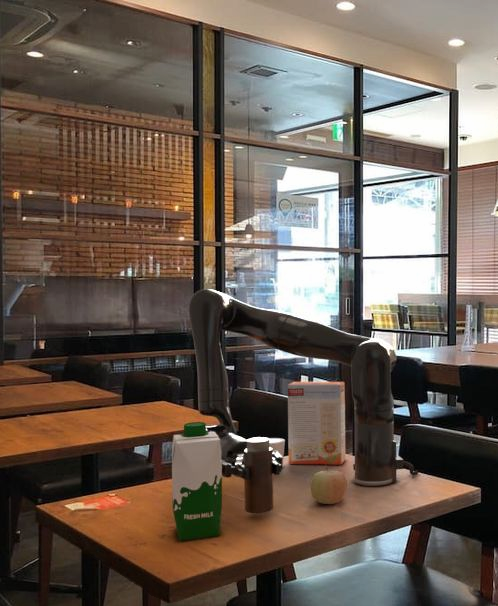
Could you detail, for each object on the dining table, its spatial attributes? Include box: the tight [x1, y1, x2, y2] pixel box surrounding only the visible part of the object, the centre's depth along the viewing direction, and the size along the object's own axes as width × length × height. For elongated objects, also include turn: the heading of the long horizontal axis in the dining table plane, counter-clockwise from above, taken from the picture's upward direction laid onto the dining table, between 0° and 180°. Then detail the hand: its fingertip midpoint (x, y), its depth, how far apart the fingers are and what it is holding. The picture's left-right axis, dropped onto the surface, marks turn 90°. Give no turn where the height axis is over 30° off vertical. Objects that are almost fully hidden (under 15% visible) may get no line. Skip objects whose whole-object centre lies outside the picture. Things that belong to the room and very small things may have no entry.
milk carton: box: [171, 421, 223, 542], centre depth 131 cm, size 9×9×20 cm
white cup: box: [268, 437, 286, 466], centre depth 178 cm, size 7×7×7 cm
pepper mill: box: [243, 436, 274, 514], centre depth 141 cm, size 6×6×14 cm
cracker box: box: [287, 381, 346, 466], centre depth 183 cm, size 14×6×21 cm, turn 84°
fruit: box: [310, 465, 348, 505], centre depth 149 cm, size 8×7×8 cm
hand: (262, 472), depth 139 cm, fingers closed on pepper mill, 5 cm apart
